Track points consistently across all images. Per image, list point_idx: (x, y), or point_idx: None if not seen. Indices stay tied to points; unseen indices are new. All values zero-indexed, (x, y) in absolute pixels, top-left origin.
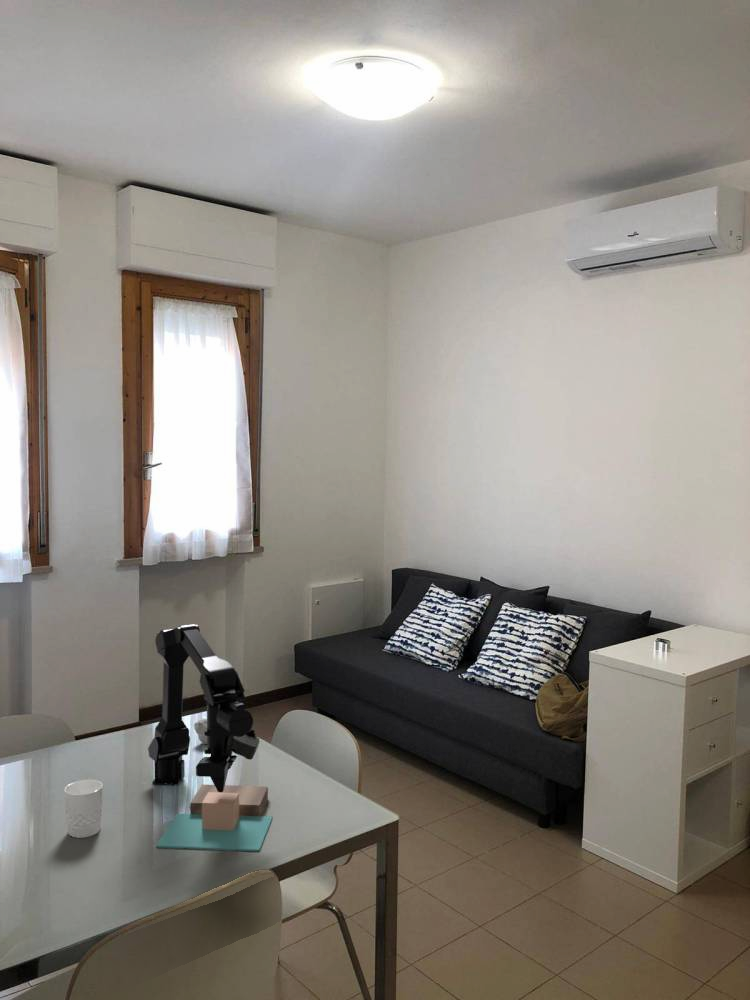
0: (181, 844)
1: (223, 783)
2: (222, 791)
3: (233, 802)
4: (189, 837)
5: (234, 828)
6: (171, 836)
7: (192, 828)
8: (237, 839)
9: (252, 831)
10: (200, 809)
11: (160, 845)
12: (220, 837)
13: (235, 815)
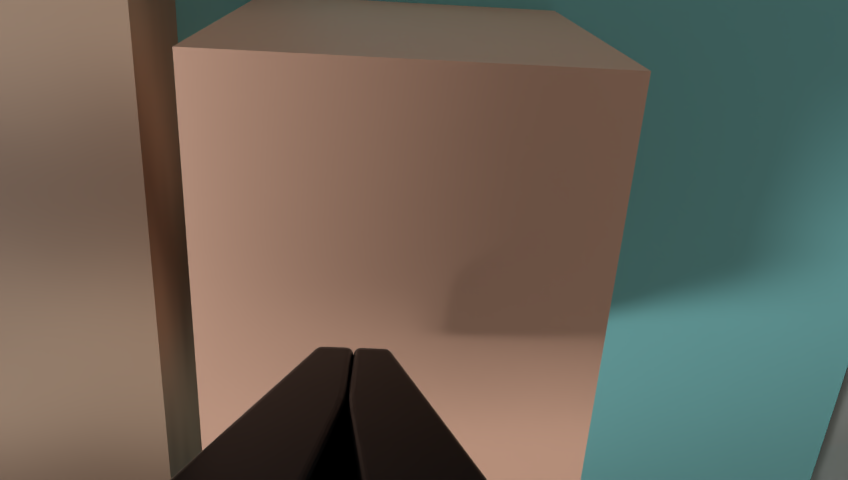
0: (791, 433)
1: (462, 453)
2: (391, 357)
3: (587, 80)
4: (670, 401)
5: (509, 7)
6: None
7: None
8: None
9: None
10: (189, 437)
11: None
12: (707, 126)
13: (460, 22)
